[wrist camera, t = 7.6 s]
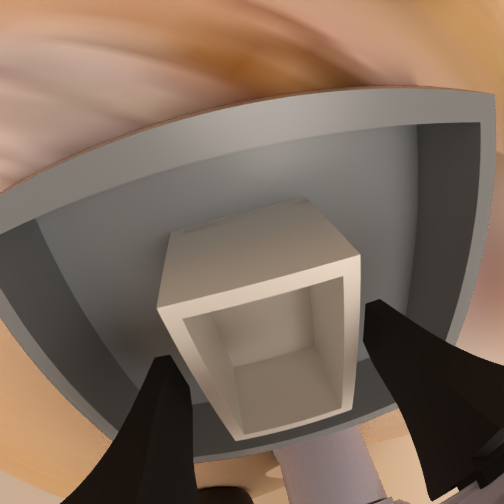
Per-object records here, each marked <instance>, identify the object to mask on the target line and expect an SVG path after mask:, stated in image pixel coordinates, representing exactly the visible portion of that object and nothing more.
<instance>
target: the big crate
mask: <svg viewBox="0 0 504 504" xmlns="http://www.w3.org/2000/svg"><path fill="white" fill-rule="evenodd" d="M495 157H496V109H495V95H494V94H489V93H483V92H476V91H469V90H462V89H453V88H443V87H432V86H413V85H384V86H358V87H342V88H330V89H320V90H311V91H303V92H295V93H288V94H281V95H275V96H269V97H263V98H257V99H252V100H247V101H242V102H237V103H232V104H228V105H223V106H219V107H214V108H210V109H206V110H202V111H198V112H194V113H191V114H187V115H183V116H180V117H176V118H173V119H169V120H166V121H163V122H159V123H156V124H153V125H150V126H147V127H144V128H141V129H138V130H135V131H132V132H129V133H126V134H124V135H121V136H118V137H115V138H113V139H110V140H108V141H105V142H102V143H100V144H97V145H95V146H92V147H90V148H88V149H85V150H83V151H81V152H78V153H76V154H74V155H71V156H69V157H67V158H65V159H63V160H60V161H58V162H56V163H54V164H52V165H50V166H48V167H46V168H44V169H42V170H40V171H38V172H36V173H34V174H32V175H30V176H28V177H26V178H24V179H23V180H21V181H19V182H17V183H15V184H14V185H12V186H10V187H9V188H7V189H5V190H4V191H2V192H1V193H0V318H1V319H2V321H3V322H4V324H5V325H6V327H7V328H8V330H9V331H10V332H11V334H12V335H13V337H14V338H15V339H16V341H17V342H18V343H19V345H20V346H21V347H22V348H23V350H24V351H25V352H26V354H27V355H28V356H29V357H30V359H31V360H32V361H33V362H34V363H35V365H36V366H37V367H38V368H39V369H40V371H41V372H42V373H43V374H44V375H45V376H46V377H47V379H48V380H49V381H50V382H51V383H52V384H53V385H54V386H55V387H56V388H57V389H58V391H59V392H60V393H61V394H62V395H63V396H64V397H65V398H66V399H67V400H68V401H69V402H70V403H71V404H72V405H73V406H74V407H75V408H76V409H77V410H78V411H79V412H80V413H81V414H83V415H84V416H85V417H86V418H87V419H88V420H89V421H90V422H91V423H92V424H93V425H95V426H96V427H97V428H98V429H99V430H100V431H101V432H103V433H104V434H105V435H106V436H107V437H109V438H110V439H111V440H112V441H113V440H114V439H115V437H116V436H117V434H118V432H119V430H120V429H121V427H122V425H123V423H124V421H125V419H126V417H127V415H128V414H129V412H130V410H131V408H132V406H133V403H134V401H135V399H136V397H137V395H138V393H139V391H140V389H141V386H142V384H143V382H144V380H145V378H146V375H147V373H148V371H149V369H150V366H151V364H152V362H153V360H154V358H155V357H159V356H165V355H171V357H172V358H173V360H174V362H175V363H176V365H177V367H178V368H179V370H180V372H181V373H182V375H183V377H184V378H185V380H186V381H187V383H188V385H189V386H190V393H191V401H192V409H193V462H194V463H201V462H210V461H217V460H224V459H231V458H237V457H242V456H248V455H253V454H258V453H263V452H267V451H272V450H276V449H280V448H285V447H289V446H292V445H296V444H300V443H304V442H307V441H311V440H314V439H317V438H321V437H324V436H327V435H330V434H333V433H336V432H339V431H342V430H345V429H348V428H350V427H353V426H356V425H358V424H361V423H364V422H366V421H369V420H371V419H374V418H376V417H379V416H381V415H383V414H386V413H388V412H390V411H393V410H395V409H397V408H399V407H398V405H397V404H396V402H395V400H394V399H393V397H392V395H391V393H390V392H389V390H388V388H387V387H386V385H385V383H384V382H383V380H382V378H381V377H380V375H379V373H378V372H377V370H376V368H375V367H374V365H373V363H372V361H371V359H370V357H369V354H368V352H367V350H366V347H365V345H364V343H363V331H364V317H365V304H366V303H369V302H372V301H375V300H378V299H381V300H382V301H384V302H385V303H387V304H388V305H390V306H391V307H393V308H394V309H396V310H397V311H398V312H400V313H401V314H403V315H404V316H406V317H407V318H409V319H410V320H412V321H413V322H415V323H416V324H418V325H419V326H421V327H423V328H424V329H426V330H427V331H429V332H431V333H432V334H434V335H436V336H437V337H439V338H441V339H443V340H444V341H446V342H448V343H450V344H452V345H454V346H455V344H456V342H457V339H458V337H459V334H460V331H461V328H462V325H463V323H464V320H465V317H466V314H467V311H468V307H469V304H470V301H471V298H472V295H473V291H474V288H475V284H476V280H477V277H478V273H479V269H480V265H481V261H482V256H483V252H484V247H485V241H486V236H487V231H488V225H489V219H490V212H491V205H492V196H493V188H494V176H495V160H496V158H495ZM303 197H306V198H307V199H308V200H309V201H310V202H311V203H312V204H313V205H314V206H315V207H316V208H317V209H318V210H319V211H320V212H321V213H322V214H323V215H324V216H325V217H326V218H327V219H328V220H329V221H330V222H331V223H332V224H333V225H334V226H335V228H336V229H337V230H338V231H339V232H340V233H341V234H342V235H343V236H344V237H345V238H346V239H347V240H348V241H349V242H350V244H351V245H352V246H353V247H354V248H355V249H356V250H357V251H358V252H359V253H360V261H361V282H360V320H359V339H358V354H357V367H356V378H355V387H354V396H353V405H352V409H351V410H349V411H346V412H343V413H340V414H337V415H334V416H331V417H328V418H325V419H322V420H319V421H316V422H313V423H309V424H306V425H302V426H299V427H295V428H292V429H288V430H284V431H280V432H276V433H272V434H268V435H263V436H259V437H254V438H249V439H244V440H239V441H235V439H234V438H233V437H232V435H231V434H230V432H229V431H228V429H227V428H226V426H225V425H224V423H223V422H222V420H221V419H220V417H219V416H218V414H217V413H216V411H215V410H214V408H213V407H212V405H211V404H210V402H209V400H208V399H207V397H206V396H205V394H204V392H203V391H202V389H201V388H200V386H199V384H198V383H197V381H196V379H195V378H194V376H193V374H192V373H191V371H190V369H189V367H188V366H187V364H186V362H185V361H184V359H183V357H182V355H181V353H180V352H179V350H178V348H177V346H176V344H175V343H174V341H173V339H172V337H171V335H170V333H169V332H168V330H167V328H166V326H165V324H164V322H163V320H162V318H161V316H160V314H159V312H158V310H157V302H158V296H159V290H160V284H161V279H162V273H163V268H164V263H165V258H166V253H167V248H168V243H169V238H170V233H171V231H175V230H178V229H182V228H186V227H189V226H193V225H196V224H200V223H204V222H208V221H211V220H215V219H219V218H223V217H226V216H230V215H234V214H238V213H242V212H246V211H250V210H254V209H258V208H262V207H266V206H270V205H274V204H278V203H282V202H286V201H290V200H295V199H299V198H303Z"/></svg>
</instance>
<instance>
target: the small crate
mask: <svg viewBox="0 0 504 504" xmlns="http://www.w3.org/2000/svg"><path fill="white" fill-rule="evenodd" d="M360 282H361V261H360V253H359V252H358V251H357V250H356V249H355V248H354V247H353V246H352V245H351V244H350V242H349V241H348V240H347V239H346V238H345V237H344V236H343V235H342V234H341V233H340V232H339V231H338V230H337V229H336V228H335V226H334V225H333V224H332V223H331V222H330V221H329V220H328V219H327V218H326V217H325V216H324V215H323V214H322V213H321V212H320V211H319V210H318V209H317V208H316V207H315V206H314V205H313V204H312V203H311V202H310V201H309V200H308V199H307V198H306V197H303V198H299V199H295V200H290V201H286V202H282V203H278V204H274V205H270V206H266V207H262V208H258V209H254V210H250V211H246V212H242V213H238V214H234V215H230V216H226V217H223V218H219V219H215V220H211V221H208V222H204V223H200V224H196V225H193V226H189V227H186V228H182V229H178V230H175V231H171V233H170V238H169V243H168V248H167V253H166V258H165V263H164V268H163V273H162V279H161V284H160V290H159V296H158V302H157V310H158V312H159V314H160V316H161V318H162V320H163V322H164V324H165V326H166V328H167V330H168V332H169V333H170V335H171V337H172V339H173V341H174V343H175V344H176V346H177V348H178V350H179V352H180V353H181V355H182V357H183V359H184V361H185V362H186V364H187V366H188V367H189V369H190V371H191V373H192V374H193V376H194V378H195V379H196V381H197V383H198V384H199V386H200V388H201V389H202V391H203V392H204V394H205V396H206V397H207V399H208V400H209V402H210V404H211V405H212V407H213V408H214V410H215V411H216V413H217V414H218V416H219V417H220V419H221V420H222V422H223V423H224V425H225V426H226V428H227V429H228V431H229V432H230V434H231V435H232V437H233V438H234V439H235V441H239V440H244V439H249V438H254V437H259V436H263V435H268V434H272V433H276V432H280V431H284V430H288V429H292V428H295V427H299V426H302V425H306V424H309V423H313V422H316V421H319V420H322V419H325V418H328V417H331V416H334V415H337V414H340V413H343V412H346V411H349V410H351V409H352V405H353V396H354V387H355V378H356V367H357V354H358V339H359V320H360Z"/></svg>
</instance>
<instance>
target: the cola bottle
mask: <svg viewBox="0 0 504 504" xmlns="http://www.w3.org/2000/svg"><path fill="white" fill-rule="evenodd" d="M198 496H199V501H200V504H254V503H253V501H252V499H251V497H250V495H249V494H248V493H247V492H246V491H244V490H242V489H238V488H232V487H217V488H208V489H204V490H200V491H198Z"/></svg>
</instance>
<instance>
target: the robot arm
mask: <svg viewBox="0 0 504 504" xmlns="http://www.w3.org/2000/svg"><path fill="white" fill-rule="evenodd" d="M363 343H364V345H365V347H366V350H367V352H368V354H369V357H370V359H371V361H372V363H373V365H374V367H375V368H376V370H377V372H378V373H379V375H380V377H381V378H382V380H383V382H384V383H385V385H386V387H387V388H388V390H389V392H390V393H391V395H392V397H393V399H394V400H395V402H396V404H397V405H398V407H399V409H400V411H401V413H402V415H403V418H404V420H405V422H406V425H407V427H408V430H409V432H410V435H411V437H412V440H413V443H414V446H415V448H416V451H417V454H418V457H419V460H420V464H421V467H422V471H423V475H424V479H425V483H426V487H427V492H428V495H429V498H430V500H431V501H434V500H436V499H437V498H439V497H441V496H442V495H444V494H446V493H447V492H449V491H451V490H452V489H454V488H455V487H457V488H458V490H459V492H458V493H456V494H455V495H453V496H452V497H450V498H448V499H447V500H445V501H443V502H442V503H440V504H504V366H503V365H500V364H496V363H493V362H491V361H488V360H485V359H482V358H480V357H477V356H475V355H472V354H470V353H468V352H466V351H464V350H462V349H459V348H457V347H455V346H454V345H452V344H450V343H448V342H446V341H444V340H443V339H441V338H439V337H437V336H436V335H434V334H432V333H431V332H429V331H427V330H426V329H424V328H423V327H421V326H419V325H418V324H416V323H415V322H413V321H412V320H410V319H409V318H407V317H406V316H404V315H403V314H401V313H400V312H398V311H397V310H396V309H394V308H393V307H391V306H390V305H388V304H387V303H385V302H384V301H382V300H381V299H378V300H375V301H372V302H369V303H366V304H365V317H364V331H363ZM272 451H273V453H274V455H275V457H276V459H277V462H278V464H280V467H281V471H282V475H283V479H284V483H285V487H286V491H287V495H288V499H289V503H290V504H410V503H409V502H406V501H403V500H400V499H399V500H396V501H393V499H392V497H389V498H387V495H386V493H385V490H384V488H383V485H382V483H381V480H380V478H379V476H378V473H377V471H376V469H375V466H374V464H373V461H372V459H371V456H370V454H369V452H368V449H367V447H366V444H365V442H364V440H363V437H362V435H361V433H360V430H359V428H358V425H356V426H353V427H350V428H348V429H345V430H342V431H339V432H336V433H333V434H330V435H327V436H324V437H321V438H317V439H314V440H311V441H307V442H304V443H300V444H296V445H292V446H289V447H285V448H280V449H276V450H272ZM60 504H200V501H199V496H198V491H197V485H196V479H195V473H194V462H193V409H192V401H191V393H190V386H189V385H188V383H187V381H186V380H185V378H184V377H183V375H182V373H181V372H180V370H179V368H178V367H177V365H176V363H175V362H174V360H173V358H172V357H171V355H165V356H159V357H155V358H154V360H153V362H152V364H151V366H150V369H149V371H148V373H147V375H146V378H145V380H144V382H143V384H142V386H141V389H140V391H139V393H138V395H137V397H136V399H135V401H134V403H133V406H132V408H131V410H130V412H129V414H128V415H127V417H126V419H125V421H124V423H123V425H122V427H121V429H120V430H119V432H118V434H117V436H116V437H115V439H114V440H113V442H112V444H111V445H110V447H109V448H108V450H107V451H106V453H105V454H104V456H103V457H102V458H101V460H100V461H99V462H98V464H97V465H96V466H95V468H94V469H93V470H92V472H91V473H90V474H89V475H88V476H87V477H86V478H85V480H84V481H83V482H82V483H81V484H80V485H79V486H78V487H77V488H76V489H75V490H74V491H73V492H72V493H71V494H70V495H69V496H68V497H67V498H66V499H65V500H64V501H63V502H61V503H60Z"/></svg>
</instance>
